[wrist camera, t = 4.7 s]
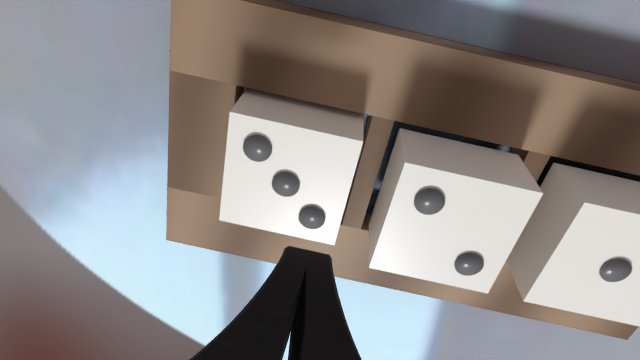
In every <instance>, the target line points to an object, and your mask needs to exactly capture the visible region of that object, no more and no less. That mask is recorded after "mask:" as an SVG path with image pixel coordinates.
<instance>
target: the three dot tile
mask: <svg viewBox="0 0 640 360" xmlns="http://www.w3.org/2000/svg"><path fill="white" fill-rule="evenodd" d="M363 131H364V114H362V113H358V112H353V111H349V110H345V109H340V108H336V107H331V106H327V105H322V104H318V103H313V102H309V101H304V100H300V99H295V98H291V97H287V96H282V95H278V94H273V93H269V92H264V91H260V90H255V89H251V88H247V89H246V90H245V92H244V93H243V94H242V96H241V97H240V98H239V100H238V101H237V102H236V104H235V105H234V107H233V108H232V109H231V111H230V113H229V123H228V133H227V144H226V154H225V164H224V174H223V185H222V195H221V205H220V215H219V220H220V221H225V222H229V223H234V224H239V225H243V226H248V227H252V228H257V229H262V230H266V231H271V232H275V233H280V234H284V235H289V236H294V237H298V238H303V239H307V240H312V241H317V242H321V243H326V244H330V245H335V241H336V238H337V234H338V231H339V227H340V223H341V220H342V216H343V213H344V209H345V206H346V202H347V198H348V195H349V191H350V188H351V184H352V180H353V177H354V173H355V170H356V166H357V162H358V159H359V155H360V152H361V148H362V144H363Z"/></svg>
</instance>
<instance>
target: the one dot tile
mask: <svg viewBox="0 0 640 360" xmlns="http://www.w3.org/2000/svg"><path fill="white" fill-rule="evenodd" d="M540 189H541V190H542V192H543V195H542V197H541V199H540V200H539V202H538V204H537V206H536V208H535V209H534V211H533V213H532V215H531V217H530V218H529V220H528V222H527V224H526V226H525V227H524V229H523V231H522V233H521V235H520V236H519V238H518V240H517V242H516V244H515V245H514V247H513V249H512V251H511V253H510V254H509V256H508V258H507V260H506V261H507V263H508V266H509V268H510V271H511V273H512V276H513V278H514V280H515V283H516V285H517V288H518V290H519V292H520V295H521V297H522V300H523V301H524V302H529V303H533V304H538V305H542V306H547V307H552V308H556V309H561V310H565V311H570V312H575V313H579V314H584V315H588V316H593V317H598V318H602V319H607V320H611V321H616V322H621V323H625V324H630V325H635V326H639V327H640V182H638V181H634V180H629V179H625V178H620V177H616V176H611V175H607V174H602V173H598V172H593V171H589V170H585V169H580V168H576V167H571V166H567V165H562V164H558V163H553V164H552V166H551V168H550V170H549V172H548V173H547V175H546V177H545V179H544V181H543V183H542V184H541V186H540Z"/></svg>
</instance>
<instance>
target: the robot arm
mask: <svg viewBox="0 0 640 360" xmlns="http://www.w3.org/2000/svg"><path fill="white" fill-rule="evenodd" d="M290 332H291V335H290ZM289 335H290V345H289V355H288V360H361V357H360V355H359V353H358V351H357V348H356V346H355V343H354V341H353V338H352V336H351V333H350V330H349V328H348V325H347V322H346V319H345V316H344V313H343V309H342V306H341V303H340V299H339V296H338V292H337V287H336V283H335V278H334V273H333V266H332V258H331V256H330V255H329V254H324V253H320V252H315V251H311V250H306V249H302V248H297V247H293V246H288V247H286V248H285V249H284V251H283V254H282V256H281V258H280V260H279V261H278V263H277V265H276V266H275V268H274V270H273V271H272V273H271V274H270V276H269V277H268V278H267V280H266V281H265V282H264V284H263V285H262V287H261V288H260V289H259V291H258V292H257V293H256V294H255V296H254V297H253V298H252V299H251V300H250V301H249V303H248V304H247V305H246V306H245V307H244V309H243V310H242V311H241V312H240V313H239V314H238V315H237V316H236V317H235V318H234V320H233V321H232V322H231V323H230V324H229V325H228V326H227V327H226V328H225V329H224V330H223V331H222V332H221V333H220V334H218V335H217V336H216V337H215V338H214V339H213V340H212V341H211V342H210V343H209V344H207V345H206V346H205V347H204V348H203V349H202V350H201V351H200V352H198V353H197V354H196V355H195V356H194V357H192V358H191V359H190V360H282V358H283V355H284V352H285V348H286V345H287V342H288V339H289Z"/></svg>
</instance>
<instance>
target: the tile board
mask: <svg viewBox="0 0 640 360" xmlns="http://www.w3.org/2000/svg"><path fill="white" fill-rule="evenodd" d="M244 87H246V88H251V89H255V90H260V91H264V92H269V93H273V94H278V95H282V96H287V97H291V98H295V99H300V100H304V101H309V102H313V103H318V104H322V105H327V106H331V107H336V108H340V109H345V110H349V111H353V112H358V113H362V114H367V115H369V117H368V121H367V124H366V128H365V132H364V135H363V144H362V148H361V152H360V155H359V159H358V162H357V166H356V170H355V173H354V177H353V180H352V184H351V188H350V191H349V195H348V198H347V202H346V206H345V209H344V213H343V216H342V220H341V223H340V227H339V231H338V234H337V238H336V241H335V245H330V244H326V243H321V242H317V241H312V240H307V239H303V238H298V237H294V236H289V235H284V234H280V233H275V232H271V231H266V230H262V229H257V228H252V227H248V226H243V225H239V224H234V223H229V222H225V221H220V220H219V215H220V205H221V195H222V185H223V174H224V164H225V154H226V144H227V133H228V123H229V113H230V111H231V109H232V108H233V107H234V105H235V104H236V102H237V101H238V100H239V98H240V97H241V96H242V94H243V90H244ZM394 121H398V122H402V123H407V124H411V125H416V126H420V127H425V128H429V129H434V130H438V131H443V132H447V133H452V134H456V135H460V136H465V137H469V138H474V139H478V140H483V141H487V142H492V143H496V144H501V145H505V146H510V147H512V150H511V152H510V153H513V154H518V155H519V157H520V158H521V160H522V161H523V163H524V164H525V166H526V167H527V169H528V170H529V172H530V173H531V175H532V177H533V178H534V180H535V181H536V182H537V180H538V178H539V177H540V175H541V173H542V171H543V169H544V167H545V165H546V164H547V162H548V160H549V158H550V156H554V157H559V158H563V159H567V160H572V161H576V162H581V163H585V164H590V165H594V166H599V167H603V168H608V169H612V170H617V171H621V172H625V173H630V174H634V175H639V176H640V84H639V83H634V82H630V81H625V80H621V79H617V78H612V77H608V76H604V75H599V74H595V73H590V72H586V71H582V70H577V69H573V68H569V67H564V66H560V65H555V64H551V63H547V62H542V61H538V60H534V59H529V58H525V57H520V56H516V55H512V54H507V53H503V52H499V51H494V50H490V49H486V48H481V47H477V46H472V45H468V44H464V43H459V42H455V41H451V40H446V39H442V38H437V37H433V36H429V35H424V34H420V33H416V32H411V31H407V30H402V29H398V28H394V27H389V26H385V25H381V24H376V23H372V22H367V21H363V20H359V19H354V18H350V17H346V16H341V15H337V14H332V13H328V12H324V11H319V10H315V9H311V8H306V7H302V6H297V5H293V4H289V3H284V2H280V1H276V0H171V34H170V84H169V133H168V183H167V233H166V240H169V241H174V242H178V243H183V244H187V245H192V246H197V247H201V248H206V249H211V250H215V251H220V252H224V253H229V254H234V255H238V256H243V257H248V258H252V259H257V260H261V261H266V262H271V263H275V264H277V263H278V261H279V260H280V258H281V256H282V254H283V251H284V249H285V248H286V247H288V246H293V247H297V248H302V249H306V250H311V251H315V252H320V253H324V254H329V255H330V256H331V258H332V266H333V273H334V276H335V277H340V278H345V279H349V280H354V281H358V282H363V283H368V284H372V285H377V286H381V287H386V288H391V289H395V290H400V291H405V292H409V293H414V294H418V295H423V296H428V297H432V298H437V299H442V300H446V301H451V302H455V303H460V304H465V305H469V306H474V307H479V308H483V309H488V310H492V311H497V312H502V313H506V314H511V315H515V316H520V317H525V318H529V319H534V320H539V321H543V322H548V323H552V324H557V325H562V326H566V327H571V328H576V329H580V330H585V331H589V332H594V333H599V334H603V335H608V336H612V337H617V338H622V339H626V340H628V338H629V337H630V336H631V335H632V334H633V333H634V331H635V330H636V329H637V328H638V327H639V326H635V325H630V324H625V323H621V322H616V321H611V320H607V319H602V318H598V317H593V316H588V315H584V314H579V313H575V312H570V311H565V310H561V309H556V308H552V307H547V306H542V305H538V304H533V303H529V302H524V301H523V300H522V297H521V295H520V292H519V290H518V288H517V285H516V283H515V280H514V278H513V276H512V273H511V271H510V268H509V266H508V263H507V261H506V262H505V263H504V265H503V267H502V269H501V271H500V272H499V274H498V276H497V278H496V280H495V281H494V283H493V285H492V287H491V289H490V290H489V292H488V294H487V293H483V292H478V291H473V290H469V289H464V288H460V287H455V286H450V285H446V284H441V283H437V282H432V281H427V280H423V279H418V278H414V277H409V276H404V275H400V274H395V273H391V272H386V271H381V270H377V269H372V268H369V222H370V219H371V215H372V213H367V212H366V211H367V208H368V205H369V201H370V198H371V195H372V192H373V188H374V185H375V182H376V179H377V176H378V172H379V169H380V166H381V163H382V160H383V156H384V153H385V150H386V147H387V144H388V140H389V137H390V134H391V131H392V127H393V124H394Z"/></svg>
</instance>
